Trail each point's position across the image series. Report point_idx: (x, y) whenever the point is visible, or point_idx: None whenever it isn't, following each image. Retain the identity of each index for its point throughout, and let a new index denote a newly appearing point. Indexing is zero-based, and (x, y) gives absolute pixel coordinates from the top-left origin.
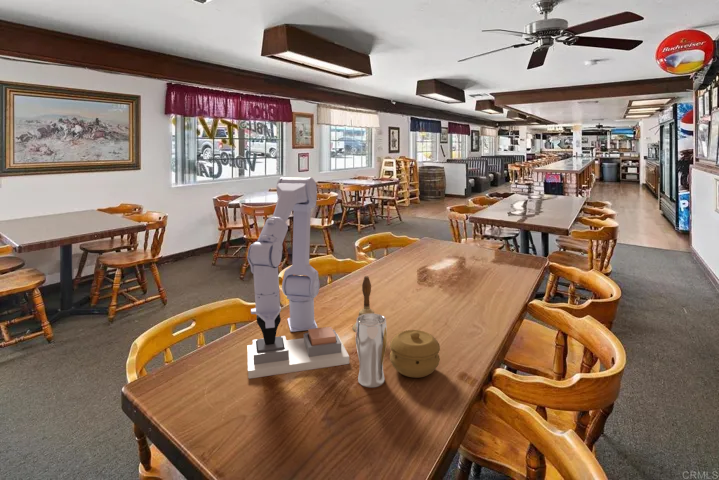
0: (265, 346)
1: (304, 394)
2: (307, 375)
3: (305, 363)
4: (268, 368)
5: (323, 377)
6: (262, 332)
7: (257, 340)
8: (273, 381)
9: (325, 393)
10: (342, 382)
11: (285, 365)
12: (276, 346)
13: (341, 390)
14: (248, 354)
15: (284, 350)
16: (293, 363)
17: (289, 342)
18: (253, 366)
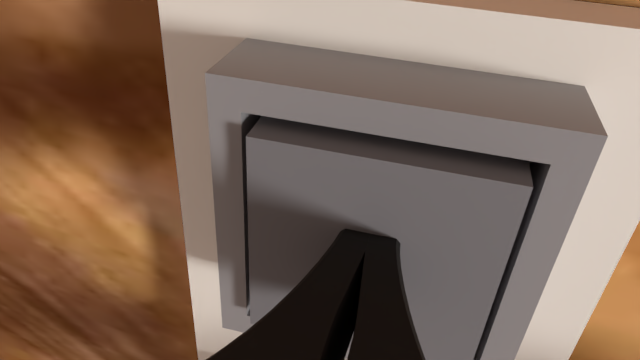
0: (307, 216)
1: (5, 214)
2: (164, 279)
3: (197, 322)
4: (175, 129)
5: (135, 323)
6: (259, 322)
7: (493, 184)
8: (131, 114)
9: (15, 282)
10: (89, 357)
11: (184, 233)
12: (276, 288)
13: (35, 332)
14: (475, 18)
15: (226, 307)
16: (197, 277)
17: (517, 356)
18: (217, 28)
